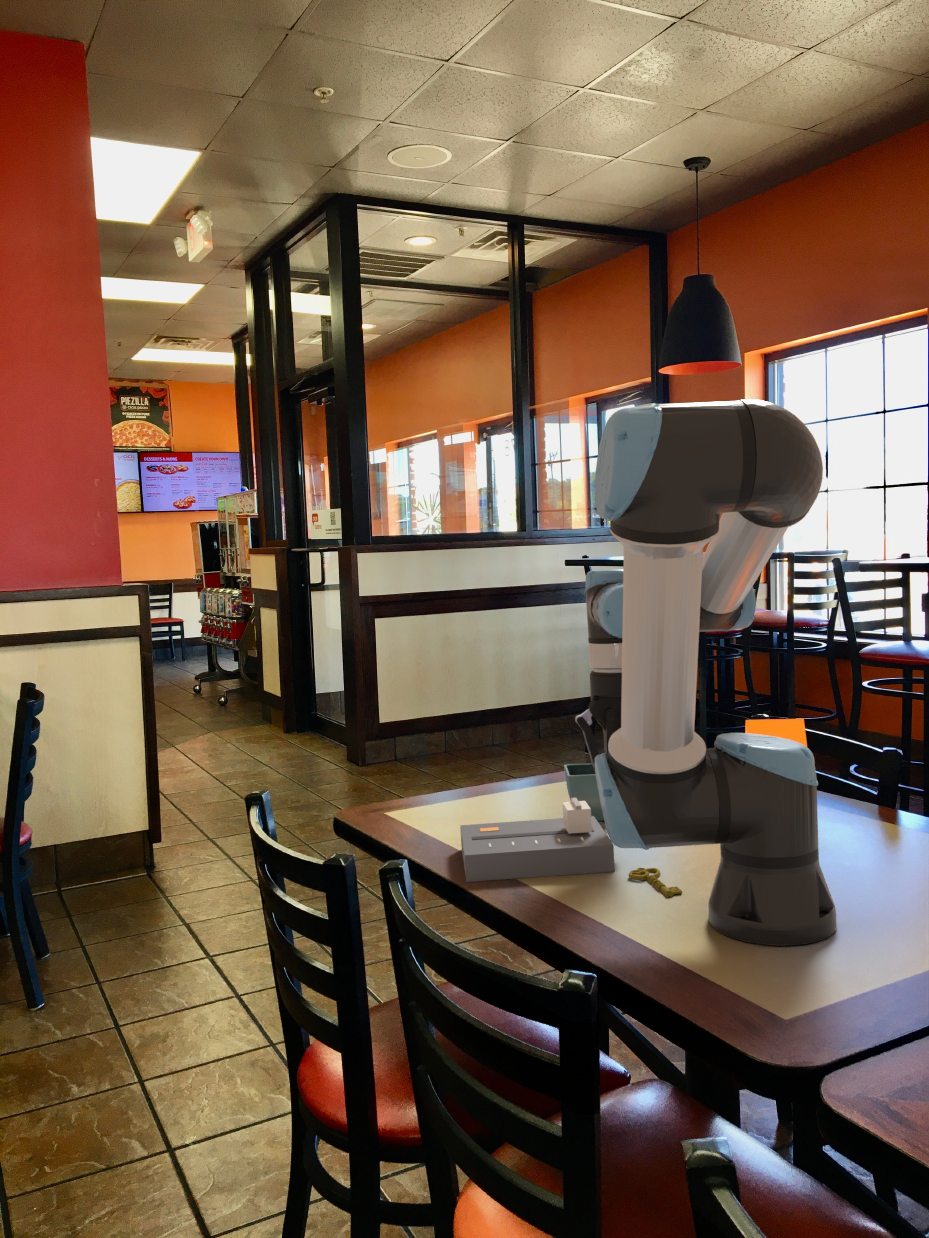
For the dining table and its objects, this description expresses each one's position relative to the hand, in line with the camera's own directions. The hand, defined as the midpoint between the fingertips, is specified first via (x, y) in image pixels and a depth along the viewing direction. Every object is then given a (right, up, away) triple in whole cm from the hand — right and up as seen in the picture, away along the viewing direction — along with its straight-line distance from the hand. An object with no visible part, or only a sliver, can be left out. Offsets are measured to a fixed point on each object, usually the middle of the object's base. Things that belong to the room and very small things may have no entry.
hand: (621, 819), depth 149 cm
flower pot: (-2, -5, +21) cm, 22 cm away
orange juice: (+24, -4, -1) cm, 25 cm away
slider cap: (-7, -1, 0) cm, 7 cm away
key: (+2, -7, -14) cm, 15 cm away
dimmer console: (-14, -6, 0) cm, 15 cm away
